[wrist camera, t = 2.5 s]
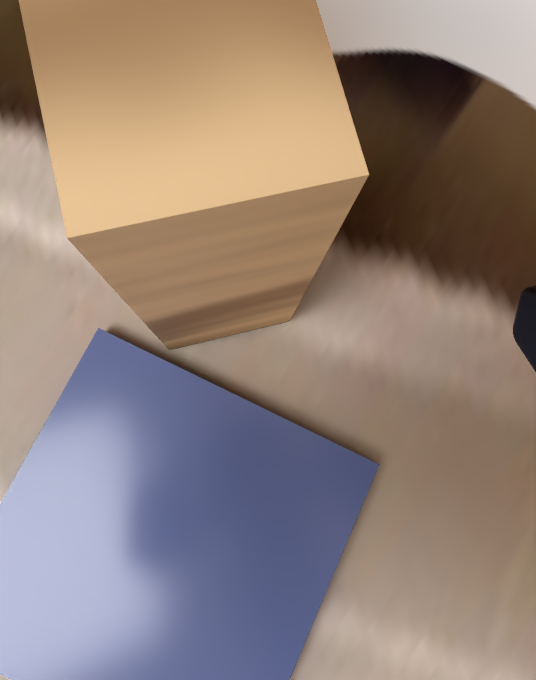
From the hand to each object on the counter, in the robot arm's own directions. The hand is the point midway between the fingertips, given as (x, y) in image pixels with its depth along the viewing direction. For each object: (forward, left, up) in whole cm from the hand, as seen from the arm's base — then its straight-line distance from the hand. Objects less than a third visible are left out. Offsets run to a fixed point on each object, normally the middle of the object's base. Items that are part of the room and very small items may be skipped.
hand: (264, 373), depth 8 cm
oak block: (+4, +3, -12) cm, 13 cm away
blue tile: (-6, 0, -12) cm, 13 cm away
